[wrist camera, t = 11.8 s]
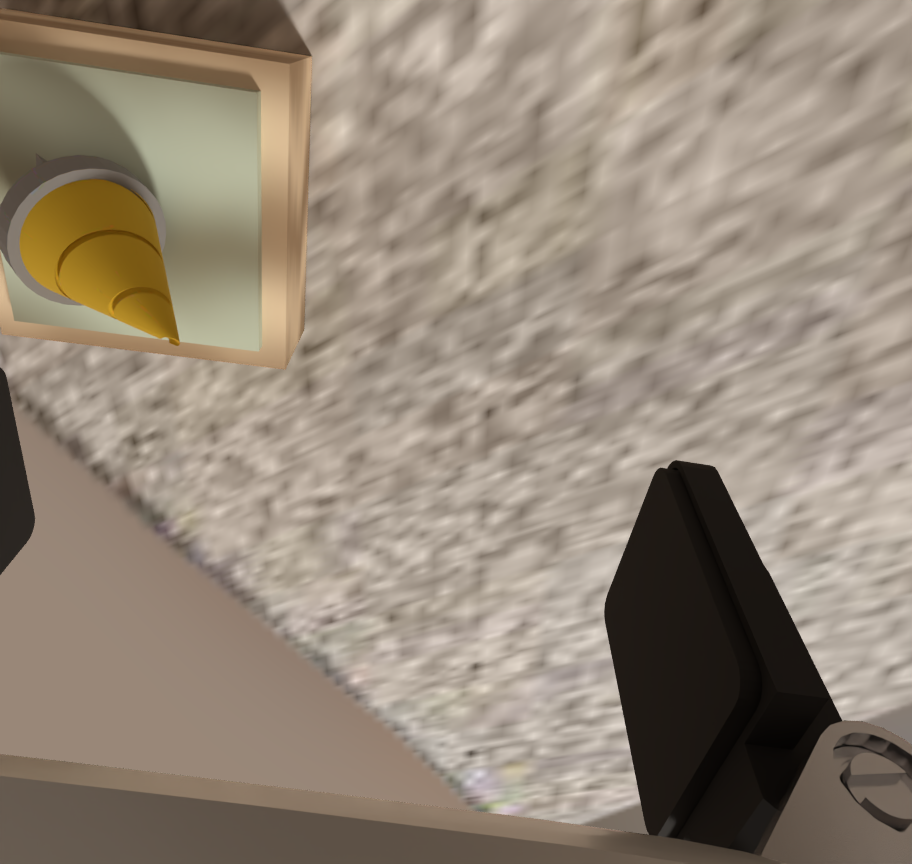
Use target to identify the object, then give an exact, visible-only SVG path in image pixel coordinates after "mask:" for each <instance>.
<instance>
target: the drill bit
mask: <svg viewBox="0 0 912 864" xmlns="http://www.w3.org/2000/svg"><path fill="white" fill-rule="evenodd" d="M165 239H166V222H165V218H164V215H163V211H162V209H161V207H160V205H159V203H158V201H157V199H156V198H155V197H154V195H153V194H152V193H151V192H150V191H149V190H148V189H147V187H146V186H145V185H144V184H143V183H142V182H141V181H140V180H139V179H138V178H137V177H136V176H135V175H134V174H133V173H131V172H130V171H129V170H127V169H126V168H125V167H123V166H121V165H119V164H117V163H115V162H113V161H111V160H107V159H104V158H100V157H96V156H85V155H74V156H65V157H60V158H56V159H53V160H50V161H47V160H45V159H44V158H42V157H41V156H39V155H38V154H36V167H34V168H32V169H30V170H29V171H28V172H27V173H25V174H24V175H23V176H22V177H20V178H19V179H18V180H17V181H16V182H15V183H14V185H13V186H12V187H11V188H10V189H9V190H8V192H7V193H6V195H5V197H4V199H3V201H2V203H1V205H0V250H1V252H2V253H3V255H4V257H5V259H6V261H7V262H8V264H9V265H10V267H11V268H12V269H13V271H14V272H15V274H16V275H17V276H18V277H19V278H20V280H21V281H22V282H23V283H24V284H25V285H26V286H27V287H28V288H29V289H31V290H32V291H33V292H35V293H36V294H37V295H39V296H41V297H44V298H46V299H48V300H50V301H53V302H57V303H61V304H65V305H77V306H82V305H85V306H87V307H89V308H91V309H94V310H96V311H98V312H100V313H103V314H105V315H107V316H110V317H112V318H114V319H117V320H119V321H121V322H123V323H125V324H128V325H130V326H132V327H134V328H137V329H139V330H141V331H143V332H146V333H148V334H150V335H152V336H155V337H157V338H159V339H162V338H164V337H167V338H168V339H169V343H171V344H173V345H175V346H179V345H180V340H179V334H178V330H177V325H176V320H175V315H174V310H173V305H172V300H171V295H170V290H169V286H168V281H167V276H166V271H165V266H164V261H163V256H162V251H163V249H164V245H165Z"/></svg>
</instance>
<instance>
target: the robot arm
mask: <svg viewBox="0 0 912 864" xmlns="http://www.w3.org/2000/svg"><path fill="white" fill-rule="evenodd" d="M34 523H35V516H34V509H33V505H32V500H31V495H30V490H29V486H28V481H27V475H26V470H25V466H24V461H23V456H22V451H21V446H20V441H19V436H18V431H17V427H16V422H15V417H14V412H13V407H12V402H11V397H10V392H9V387H8V382H7V378H6V375H5V372H4V371H3V370H2V369H1V368H0V575H1V573H2V572H3V571H4V570H5V568H6V567H7V566H8V565H9V563H10V562H11V561H12V560H13V559H14V557H15V556H16V555H17V554H18V552H19V551H20V550H21V549H22V547H23V546H24V545H25V544H26V543H27V541H28V540H29V538H30V536H31V534H32V532H33V528H34ZM604 614H605V624H606V629H607V634H608V639H609V644H610V649H611V654H612V659H613V664H614V669H615V674H616V679H617V684H618V689H619V694H620V700H621V705H622V710H623V715H624V720H625V725H626V730H627V735H628V740H629V745H630V750H631V755H632V760H633V765H634V770H635V775H636V780H637V785H638V791H639V796H640V801H641V806H642V811H643V816H644V821H645V825H646V828H647V831H648V833H649V835H647V834H639V833H632V832H626V831H619V830H612V829H605V828H598V827H591V826H584V825H577V824H569V823H562V822H555V821H548V820H541V819H533V818H525V817H517V816H509V815H501V814H493V813H485V812H477V811H469V810H461V809H453V808H445V807H437V806H429V805H421V804H413V803H405V802H397V801H389V800H380V799H372V798H365V797H357V796H348V795H341V794H333V793H324V792H316V791H308V790H300V789H291V788H283V787H275V786H266V785H258V784H250V783H241V782H233V781H225V780H217V779H208V778H200V777H191V776H183V775H175V774H166V773H157V772H149V771H141V770H132V769H124V768H116V767H107V766H98V765H90V764H82V763H73V762H65V761H56V760H48V759H39V758H30V757H21V756H13V755H4V754H0V864H912V745H911V744H910V743H909V742H907V741H906V740H905V739H903V738H901V737H899V736H897V735H895V734H894V733H892V732H890V731H888V730H886V729H884V728H882V727H879V726H875V725H872V724H869V723H866V722H863V721H846V720H844V721H842V719H841V717H840V715H839V713H838V711H837V709H836V707H835V705H834V703H833V701H832V699H831V697H830V695H829V693H828V691H827V689H826V687H825V685H824V683H823V681H822V679H821V677H820V675H819V673H818V671H817V669H816V667H815V665H814V663H813V661H812V659H811V657H810V655H809V653H808V650H807V648H806V646H805V644H804V642H803V640H802V638H801V636H800V634H799V632H798V630H797V628H796V626H795V624H794V622H793V620H792V618H791V616H790V614H789V612H788V610H787V608H786V606H785V604H784V602H783V600H782V598H781V596H780V594H779V592H778V590H777V588H776V586H775V584H774V582H773V580H772V578H771V576H770V574H769V572H768V571H767V569H766V568H765V566H764V565H763V563H762V561H761V559H760V557H759V555H758V552H757V550H756V548H755V546H754V544H753V542H752V540H751V538H750V536H749V534H748V532H747V530H746V528H745V526H744V524H743V522H742V520H741V518H740V516H739V514H738V512H737V510H736V508H735V506H734V504H733V502H732V500H731V498H730V495H729V493H728V491H727V489H726V487H725V485H724V483H723V481H722V479H721V477H720V475H719V473H718V471H717V470H716V468H715V467H713V466H710V465H703V464H697V463H690V462H684V461H677V460H675V461H673V462H672V463H671V464H670V465H669V466H668V468H667V469H665V468H659V469H658V470H657V471H656V472H655V474H654V476H653V479H652V481H651V484H650V486H649V489H648V492H647V494H646V497H645V499H644V502H643V504H642V507H641V510H640V512H639V515H638V517H637V520H636V522H635V525H634V528H633V530H632V533H631V535H630V538H629V540H628V543H627V546H626V548H625V551H624V553H623V556H622V558H621V561H620V564H619V566H618V569H617V571H616V574H615V576H614V579H613V582H612V584H611V587H610V589H609V592H608V594H607V598H606V602H605V611H604Z"/></svg>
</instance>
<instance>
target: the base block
mask: <svg viewBox="0 0 912 864" xmlns="http://www.w3.org/2000/svg"><path fill="white" fill-rule="evenodd" d="M311 74H312V56H307V55H300V54H294V53H287V52H281V51H275V50H268V49H262V48H255V47H249V46H242V45H236V44H229V43H223V42H216V41H210V40H204V39H197V38H191V37H184V36H178V35H171V34H165V33H158V32H152V31H145V30H139V29H133V28H126V27H120V26H113V25H107V24H100V23H94V22H87V21H81V20H74V19H68V18H62V17H55V16H49V15H42V14H36V13H29V12H23V11H16V10H10V9H0V205H1V203H2V201H3V199H4V197H5V195H6V193H7V192H8V190H9V189H10V188H11V187H12V186H13V185H14V183H15V182H16V181H17V180H18V179H19V178H20V177H22V176H23V175H24V174H25V173H27V172H28V171H29V170H30V169H32V168H34V167H36V154H38V155H39V156H41V157H42V158H44V159H45V160H47V161H50V160H53V159H56V158H60V157H65V156H74V155H85V156H96V157H100V158H104V159H107V160H111V161H113V162H115V163H117V164H119V165H121V166H123V167H125V168H126V169H127V170H129V171H130V172H131V173H133V174H134V175H135V176H136V177H137V178H138V179H139V180H140V181H141V182H142V183H143V184H144V185H145V186H146V187H147V189H148V190H149V191H150V192H151V193H152V194H153V195H154V197H155V198H156V199H157V201H158V203H159V205H160V207H161V209H162V211H163V215H164V218H165V222H166V239H165V245H164V249H163V251H162V256H163V261H164V266H165V271H166V276H167V281H168V286H169V290H170V295H171V300H172V305H173V310H174V315H175V320H176V325H177V330H178V334H179V340H180V345H179V346H175V345H173V344H171V343H169V339H168V338H167V337H164V338H162V339H159V338H157V337H155V336H152V335H150V334H148V333H146V332H143V331H141V330H139V329H137V328H134V327H132V326H130V325H128V324H125V323H123V322H121V321H119V320H117V319H114V318H112V317H110V316H107V315H105V314H103V313H100V312H98V311H96V310H94V309H91V308H89V307H87V306H85V305H82V306H77V305H65V304H61V303H57V302H53V301H50V300H48V299H46V298H44V297H41V296H39V295H37V294H36V293H35V292H33V291H32V290H31V289H29V288H28V287H27V286H26V285H25V284H24V283H23V282H22V281H21V280H20V278H19V277H18V276H17V275H16V274H15V272H14V271H13V269H12V268H11V267H10V265H9V264H8V262H7V261H6V259H5V257H4V255H3V253H2V252H1V250H0V327H1V332H2V334H4V335H12V336H20V337H29V338H37V339H45V340H53V341H61V342H69V343H77V344H85V345H93V346H101V347H109V348H117V349H125V350H133V351H141V352H149V353H157V354H165V355H173V356H181V357H189V358H197V359H205V360H213V361H221V362H229V363H237V364H245V365H253V366H262V367H270V368H278V369H286V367H287V365H288V363H289V361H290V359H291V356H292V354H293V352H294V350H295V348H296V346H297V344H298V342H299V340H300V338H301V335H302V333H303V331H304V318H305V283H306V249H307V214H308V179H309V144H310V109H311Z"/></svg>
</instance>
